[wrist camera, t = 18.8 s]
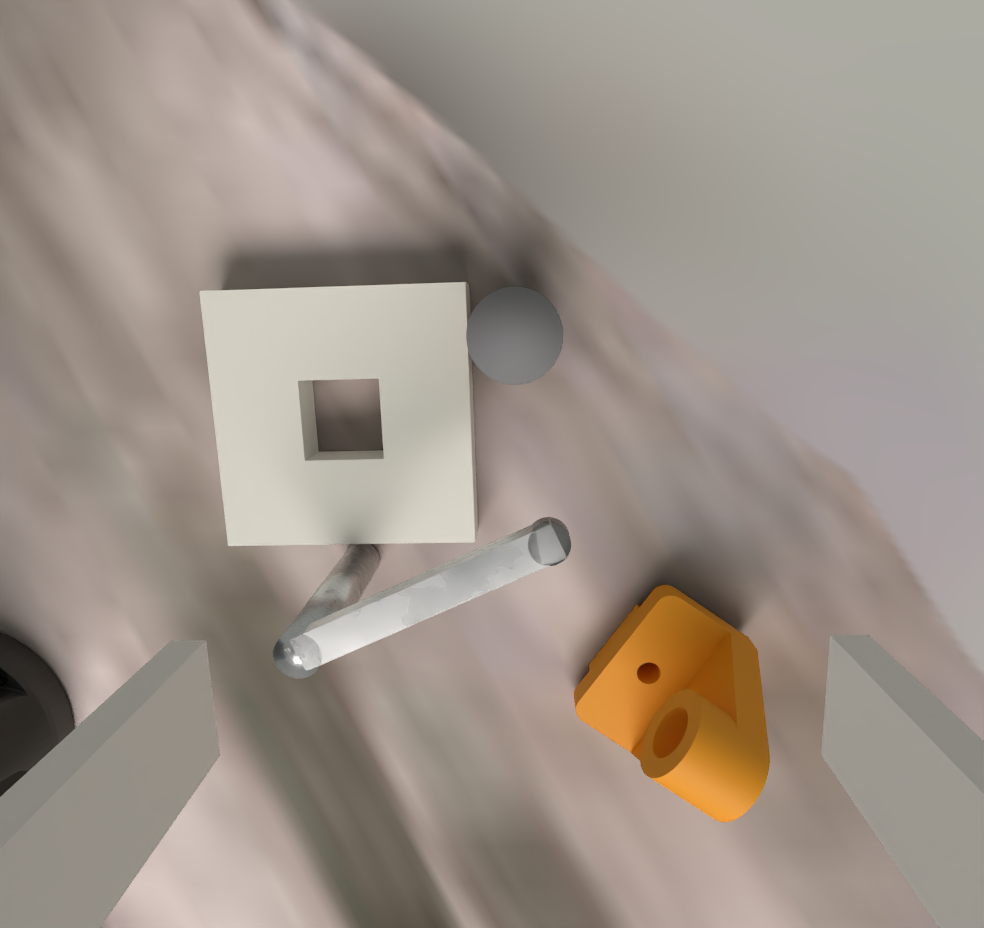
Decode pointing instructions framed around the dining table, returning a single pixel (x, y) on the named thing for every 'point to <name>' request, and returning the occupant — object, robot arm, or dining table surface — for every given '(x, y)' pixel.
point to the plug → (514, 335)
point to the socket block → (292, 420)
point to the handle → (407, 594)
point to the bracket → (683, 702)
